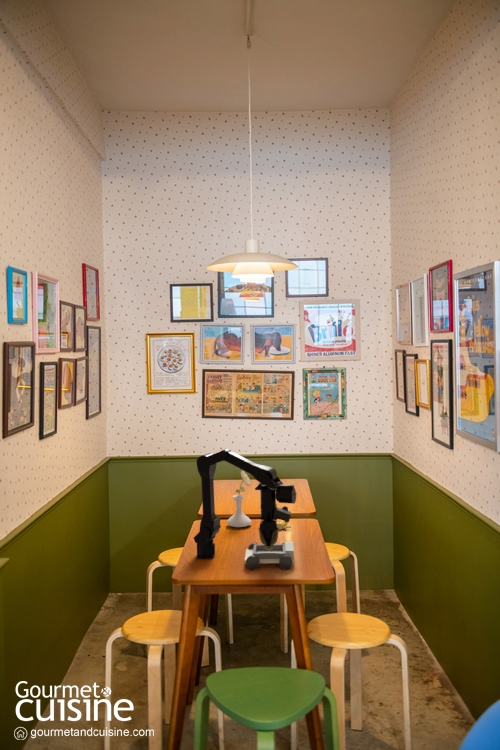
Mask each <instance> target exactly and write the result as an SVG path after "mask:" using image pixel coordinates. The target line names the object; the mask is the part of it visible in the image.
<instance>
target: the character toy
mask: <svg viewBox="0 0 500 750" xmlns="http://www.w3.org/2000/svg"><path fill="white" fill-rule="evenodd" d="M277 528H279V529H278V531H280V530H283V529H292V525H288V522H285V521H283V522H281V521H277Z"/></svg>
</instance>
